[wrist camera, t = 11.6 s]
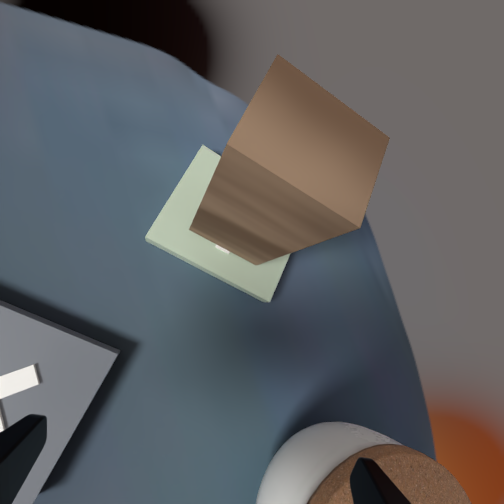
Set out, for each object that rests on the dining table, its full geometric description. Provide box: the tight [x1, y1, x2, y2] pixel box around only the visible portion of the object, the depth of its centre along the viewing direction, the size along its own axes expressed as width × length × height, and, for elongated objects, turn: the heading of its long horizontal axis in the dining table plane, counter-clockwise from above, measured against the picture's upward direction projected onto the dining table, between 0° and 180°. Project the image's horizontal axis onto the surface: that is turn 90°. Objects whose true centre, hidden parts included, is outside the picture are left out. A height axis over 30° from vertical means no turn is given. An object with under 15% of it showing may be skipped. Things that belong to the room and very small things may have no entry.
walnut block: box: [189, 55, 390, 265], centre depth 14 cm, size 4×5×10 cm
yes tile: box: [145, 145, 290, 302], centre depth 19 cm, size 8×9×1 cm
